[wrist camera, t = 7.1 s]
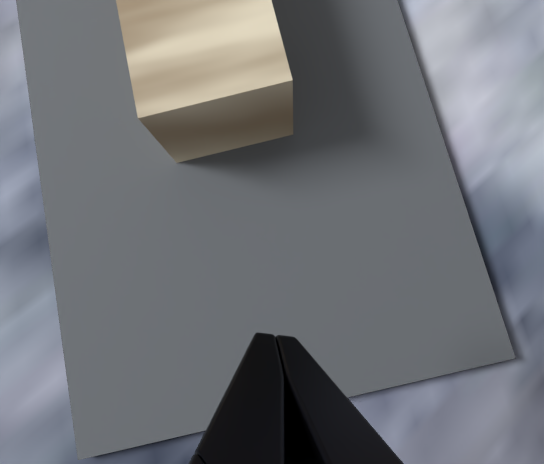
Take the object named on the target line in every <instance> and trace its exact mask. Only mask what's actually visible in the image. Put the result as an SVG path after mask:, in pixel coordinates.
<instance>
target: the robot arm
mask: <svg viewBox="0 0 544 464" xmlns="http://www.w3.org/2000/svg"><path fill="white" fill-rule="evenodd" d="M189 464H403V462H402V461H401V460H400V459H399V458H398V457H397V455H396V454H395V453H394V452H393V451H392V449H391V448H390V447H389V446H388V445H387V444H386V442H385V441H384V440H383V439H382V438H381V437H380V435H379V434H378V433H377V432H376V431H375V430H374V428H373V427H372V426H371V425H370V424H369V423H368V421H367V420H366V419H365V418H364V417H363V416H362V414H361V413H360V412H359V411H358V410H357V409H356V407H355V406H354V405H353V404H352V403H351V401H350V400H349V399H348V398H347V397H346V396H345V394H344V393H343V392H342V391H341V390H340V389H339V387H338V386H337V385H336V384H335V383H334V382H333V380H332V379H331V378H330V377H329V376H328V375H327V373H326V372H325V371H324V370H323V369H322V368H321V366H320V365H319V364H318V363H317V362H316V360H315V359H314V358H313V357H312V356H311V355H310V353H309V352H308V351H307V350H306V349H305V348H304V346H303V345H302V344H301V343H300V342H299V341H298V339H297V338H295V337H293V336H285V335H277V336H276V337H275V336H274V335H273V334H268V333H260V332H257V333H255V334H254V336H253V338H252V340H251V342H250V344H249V346H248V348H247V350H246V352H245V354H244V356H243V358H242V360H241V362H240V364H239V366H238V368H237V370H236V372H235V374H234V376H233V378H232V380H231V382H230V384H229V386H228V388H227V390H226V391H225V393H224V395H223V397H222V399H221V401H220V403H219V405H218V407H217V409H216V411H215V413H214V415H213V417H212V419H211V421H210V423H209V425H208V427H207V429H206V431H205V433H204V435H203V437H202V439H201V441H200V443H199V445H198V447H197V449H196V451H195V455H193V456H192V458H191V460H190V462H189Z"/></svg>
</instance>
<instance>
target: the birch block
mask: <svg viewBox="0 0 544 464" xmlns="http://www.w3.org/2000/svg"><path fill="white" fill-rule="evenodd" d="M116 3H117V9H118V14H119V19H120V25H121V30H122V36H123V41H124V46H125V52H126V57H127V62H128V68H129V73H130V79H131V84H132V89H133V95H134V100H135V106H136V111H137V116H138V119H139V120H140V121H141V123H142V124H143V125H144V126H145V127H146V128H147V129H148V131H149V132H150V133H151V134H152V135H153V136H154V137H155V139H156V140H157V141H158V142H159V143H160V144H161V145H162V147H163V148H164V149H165V150H166V151H167V152H168V154H169V155H170V156H171V157H172V158H173V159H174V160H175V162H176V163H179V162H183V161H187V160H191V159H195V158H199V157H203V156H207V155H212V154H216V153H220V152H224V151H228V150H232V149H236V148H240V147H244V146H248V145H252V144H256V143H261V142H265V141H269V140H273V139H277V138H281V137H285V136H289V135H293V79H292V76H291V72H290V68H289V64H288V61H287V57H286V53H285V49H284V46H283V42H282V38H281V34H280V30H279V27H278V23H277V19H276V15H275V12H274V8H273V4H272V0H116Z"/></svg>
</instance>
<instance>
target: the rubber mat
mask: <svg viewBox="0 0 544 464" xmlns="http://www.w3.org/2000/svg"><path fill="white" fill-rule="evenodd" d="M16 3H17V10H18V18H19V25H20V32H21V40H22V47H23V55H24V62H25V70H26V77H27V85H28V92H29V99H30V107H31V114H32V122H33V129H34V137H35V144H36V152H37V159H38V166H39V174H40V181H41V189H42V196H43V204H44V211H45V219H46V226H47V233H48V241H49V248H50V256H51V263H52V271H53V278H54V286H55V293H56V300H57V308H58V315H59V323H60V330H61V338H62V345H63V353H64V360H65V367H66V375H67V382H68V390H69V397H70V405H71V412H72V419H73V427H74V434H75V442H76V449H77V457H78V460H81V459H85V458H89V457H94V456H98V455H102V454H106V453H111V452H115V451H119V450H124V449H128V448H132V447H137V446H141V445H145V444H149V443H154V442H158V441H162V440H167V439H171V438H175V437H180V436H184V435H188V434H192V433H197V432H201V431H205V430H206V429H207V427H208V425H209V423H210V421H211V419H212V417H213V415H214V413H215V411H216V409H217V407H218V405H219V403H220V401H221V399H222V397H223V395H224V393H225V391H226V390H227V388H228V386H229V384H230V382H231V380H232V378H233V376H234V374H235V372H236V370H237V368H238V366H239V364H240V362H241V360H242V358H243V356H244V354H245V352H246V350H247V348H248V346H249V344H250V342H251V340H252V338H253V336H254V334H255V333H257V332H260V333H268V334H273V335H274V336H275V337H276V336H277V335H285V336H293V337H295V338H297V339H298V341H299V342H300V343H301V344H302V345H303V346H304V348H305V349H306V350H307V351H308V352H309V353H310V355H311V356H312V357H313V358H314V359H315V360H316V362H317V363H318V364H319V365H320V366H321V368H322V369H323V370H324V371H325V372H326V373H327V375H328V376H329V377H330V378H331V379H332V380H333V382H334V383H335V384H336V385H337V386H338V387H339V389H340V390H341V391H342V392H343V393H344V394H345V396H346V397H351V396H356V395H360V394H364V393H369V392H373V391H377V390H382V389H386V388H390V387H394V386H399V385H403V384H407V383H412V382H416V381H420V380H425V379H429V378H433V377H437V376H442V375H446V374H450V373H455V372H459V371H463V370H468V369H472V368H476V367H480V366H485V365H489V364H493V363H498V362H502V361H506V360H510V359H515V358H516V357H515V354H514V351H513V348H512V345H511V342H510V339H509V336H508V333H507V330H506V327H505V324H504V321H503V318H502V315H501V312H500V309H499V306H498V303H497V300H496V297H495V294H494V291H493V288H492V285H491V282H490V279H489V276H488V273H487V270H486V267H485V263H484V260H483V257H482V254H481V251H480V248H479V245H478V242H477V239H476V236H475V233H474V230H473V227H472V224H471V221H470V218H469V215H468V212H467V209H466V206H465V203H464V200H463V197H462V194H461V191H460V188H459V185H458V182H457V179H456V176H455V173H454V170H453V167H452V164H451V161H450V158H449V155H448V152H447V148H446V145H445V142H444V139H443V136H442V133H441V130H440V127H439V124H438V121H437V118H436V115H435V112H434V109H433V106H432V103H431V100H430V97H429V94H428V91H427V88H426V85H425V82H424V79H423V76H422V73H421V70H420V67H419V64H418V61H417V58H416V55H415V52H414V49H413V46H412V43H411V40H410V36H409V33H408V30H407V27H406V24H405V21H404V18H403V15H402V12H401V9H400V6H399V3H398V0H272V4H273V8H274V12H275V15H276V19H277V23H278V27H279V30H280V34H281V38H282V42H283V46H284V49H285V53H286V57H287V61H288V64H289V68H290V72H291V76H292V79H293V135H289V136H285V137H281V138H277V139H273V140H269V141H265V142H261V143H256V144H252V145H248V146H244V147H240V148H236V149H232V150H228V151H224V152H220V153H216V154H212V155H207V156H203V157H199V158H195V159H191V160H187V161H183V162H179V163H176V162H175V160H174V159H173V158H172V157H171V156H170V155H169V154H168V152H167V151H166V150H165V149H164V148H163V147H162V145H161V144H160V143H159V142H158V141H157V140H156V139H155V137H154V136H153V135H152V134H151V133H150V132H149V131H148V129H147V128H146V127H145V126H144V125H143V124H142V123H141V121H140V120H139V119H138V116H137V111H136V106H135V100H134V95H133V89H132V84H131V79H130V73H129V68H128V62H127V57H126V52H125V46H124V41H123V36H122V30H121V25H120V19H119V14H118V9H117V3H116V0H16Z"/></svg>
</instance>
